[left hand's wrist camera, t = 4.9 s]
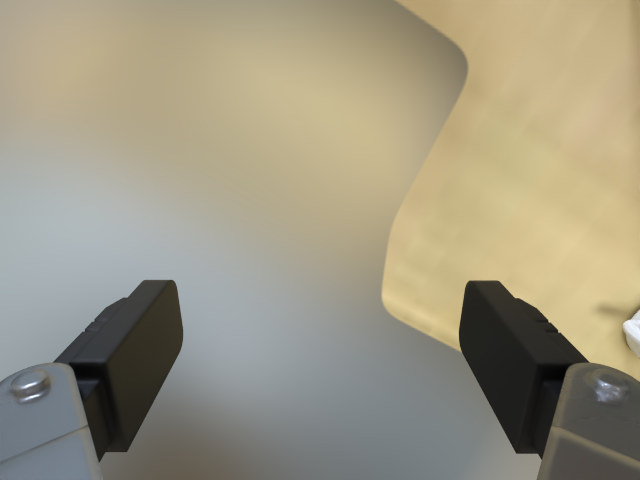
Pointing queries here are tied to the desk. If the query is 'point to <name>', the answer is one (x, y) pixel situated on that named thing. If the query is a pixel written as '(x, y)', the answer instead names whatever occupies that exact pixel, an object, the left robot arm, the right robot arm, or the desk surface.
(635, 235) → the desk surface
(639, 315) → the mug
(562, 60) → the desk surface
